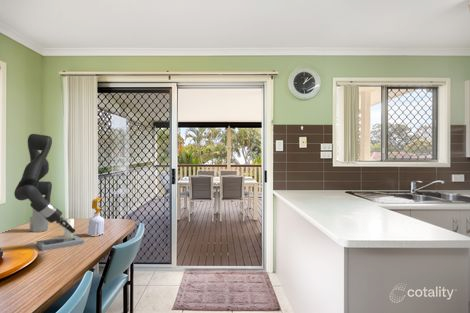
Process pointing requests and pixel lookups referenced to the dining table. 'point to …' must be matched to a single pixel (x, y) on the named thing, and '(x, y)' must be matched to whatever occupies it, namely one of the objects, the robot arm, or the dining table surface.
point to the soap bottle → (96, 220)
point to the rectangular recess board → (58, 243)
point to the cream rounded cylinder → (67, 234)
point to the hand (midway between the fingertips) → (72, 230)
